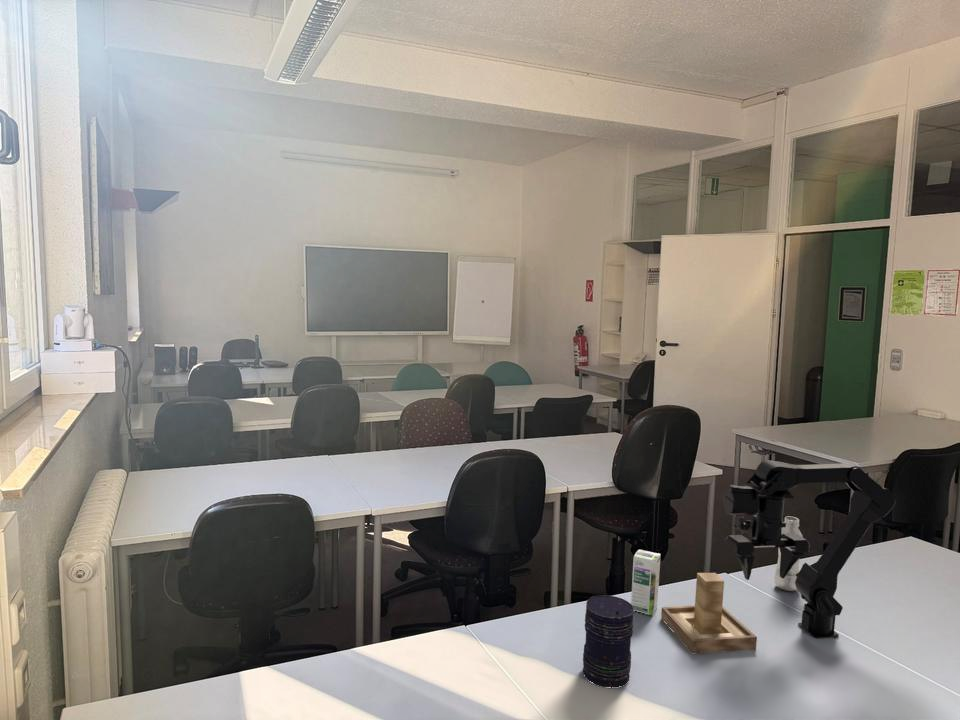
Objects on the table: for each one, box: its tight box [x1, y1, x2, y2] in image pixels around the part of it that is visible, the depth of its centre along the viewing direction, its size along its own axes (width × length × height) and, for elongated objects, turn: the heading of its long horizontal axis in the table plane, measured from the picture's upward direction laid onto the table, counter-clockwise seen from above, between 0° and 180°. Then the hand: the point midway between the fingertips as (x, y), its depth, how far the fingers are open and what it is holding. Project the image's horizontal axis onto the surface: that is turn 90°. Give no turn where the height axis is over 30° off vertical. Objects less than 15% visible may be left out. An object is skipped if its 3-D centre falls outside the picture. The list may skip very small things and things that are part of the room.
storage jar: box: [582, 594, 635, 689], centre depth 133 cm, size 10×10×15 cm
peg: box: [693, 572, 725, 635], centre depth 151 cm, size 4×4×14 cm
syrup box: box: [630, 549, 661, 616], centre depth 162 cm, size 6×6×14 cm
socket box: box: [660, 605, 758, 654], centre depth 152 cm, size 16×16×3 cm
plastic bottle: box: [773, 515, 804, 592], centre depth 177 cm, size 6×7×20 cm
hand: (764, 578), depth 153 cm, fingers open, 9 cm apart
